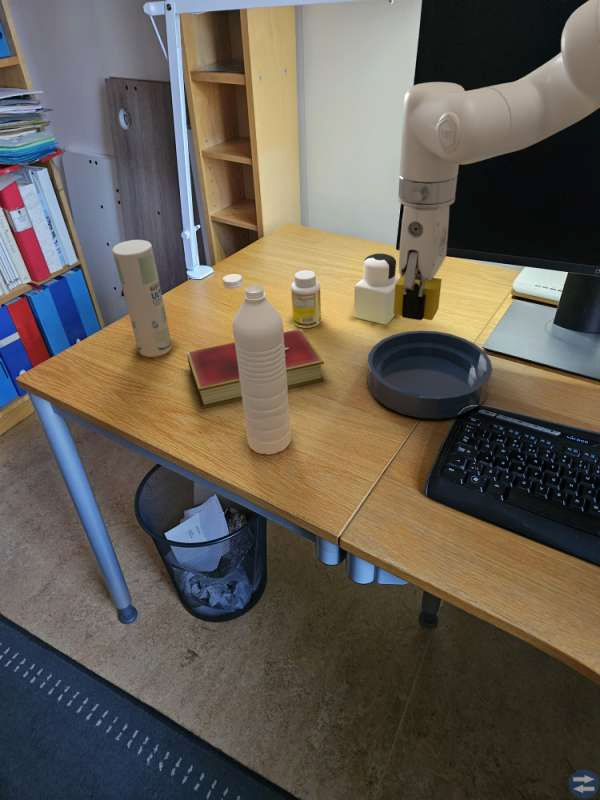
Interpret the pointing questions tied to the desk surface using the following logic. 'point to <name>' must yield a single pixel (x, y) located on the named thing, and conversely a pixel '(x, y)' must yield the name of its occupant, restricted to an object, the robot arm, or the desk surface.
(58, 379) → the desk surface
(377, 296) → the blocky head figurine
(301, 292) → the supplement bottle
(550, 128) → the robot arm
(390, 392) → the bowl
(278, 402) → the water bottle
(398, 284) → the sponge
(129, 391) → the desk surface
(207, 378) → the hardcover book
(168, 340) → the spray can
